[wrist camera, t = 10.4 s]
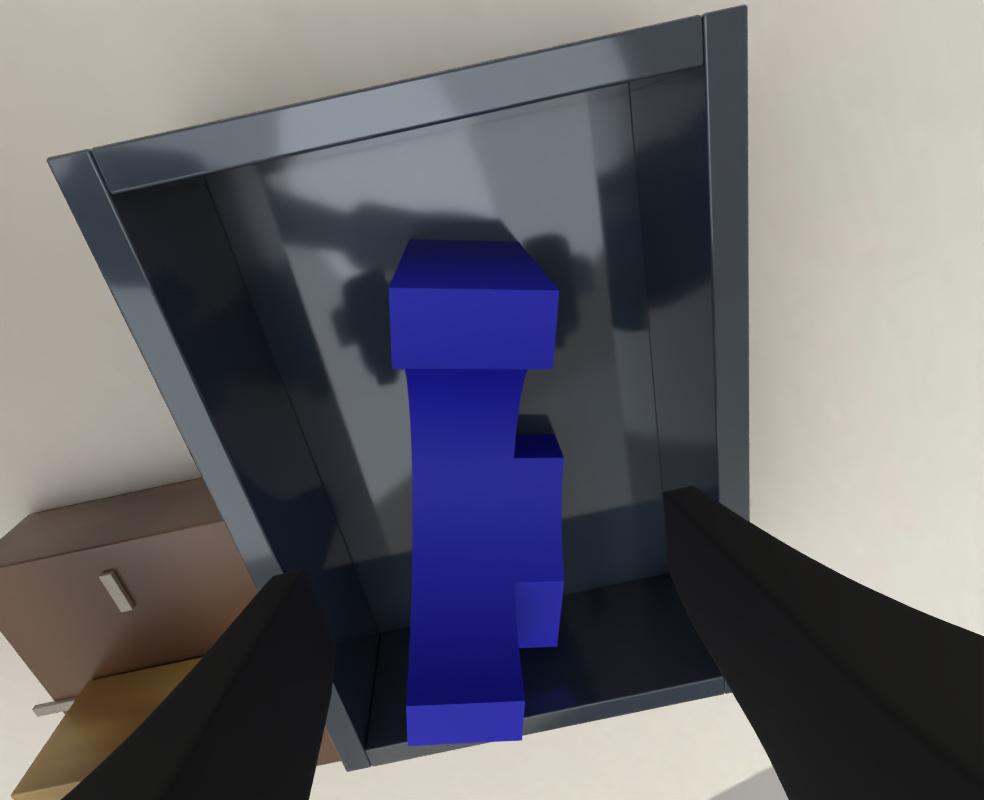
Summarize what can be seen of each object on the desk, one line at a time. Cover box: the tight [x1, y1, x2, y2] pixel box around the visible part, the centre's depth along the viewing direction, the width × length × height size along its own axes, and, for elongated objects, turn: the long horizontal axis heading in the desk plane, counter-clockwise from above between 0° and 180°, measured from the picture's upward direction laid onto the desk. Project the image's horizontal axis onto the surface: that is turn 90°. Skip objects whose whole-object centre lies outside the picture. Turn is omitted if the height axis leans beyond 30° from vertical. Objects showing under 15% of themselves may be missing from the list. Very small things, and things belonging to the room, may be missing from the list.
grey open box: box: [47, 5, 749, 772], centre depth 16 cm, size 13×18×5 cm
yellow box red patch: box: [11, 657, 202, 800], centre depth 16 cm, size 5×2×4 cm, turn 101°
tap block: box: [0, 478, 341, 766], centre depth 19 cm, size 9×11×3 cm
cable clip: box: [389, 239, 564, 746], centre depth 15 cm, size 12×4×6 cm, turn 178°
